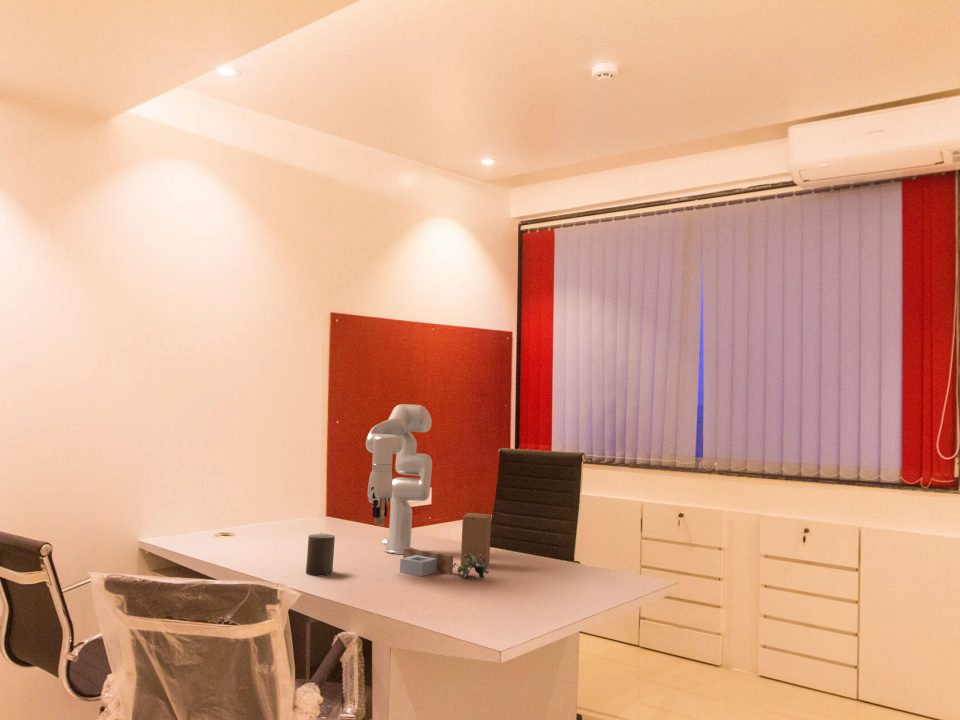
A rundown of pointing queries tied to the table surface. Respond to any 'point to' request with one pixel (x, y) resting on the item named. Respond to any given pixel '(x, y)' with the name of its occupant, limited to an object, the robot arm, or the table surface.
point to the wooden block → (476, 537)
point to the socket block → (418, 565)
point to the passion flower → (473, 565)
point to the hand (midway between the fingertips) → (379, 516)
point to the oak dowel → (381, 513)
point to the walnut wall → (442, 559)
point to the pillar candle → (320, 554)
